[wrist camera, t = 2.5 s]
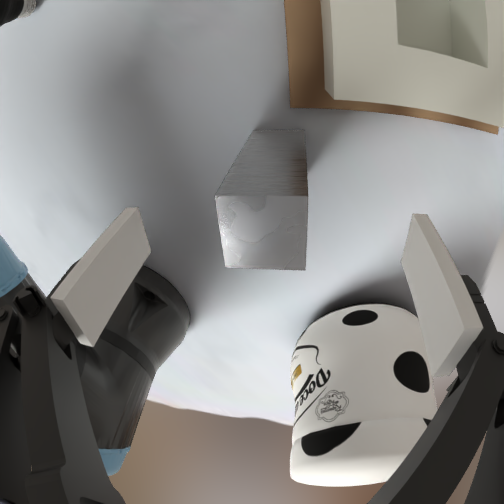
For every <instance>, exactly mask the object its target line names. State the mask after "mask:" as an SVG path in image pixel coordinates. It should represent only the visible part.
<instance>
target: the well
mask: <svg viewBox="0 0 504 504" xmlns="http://www.w3.org/2000/svg"><path fill="white" fill-rule="evenodd" d="M320 2H321V15H322V31H323V50H324V81H325V90H326V91H327V92H328V93H329V94H330V96H331V97H332V98H333V99H334V100H350V101H362V102H373V103H382V104H390V105H398V106H405V107H412V108H418V109H424V110H430V111H435V112H440V113H445V114H450V115H455V116H459V117H463V118H468V119H472V120H476V121H480V122H483V123H487V124H491V125H494V126H498V127H501V128H504V0H320Z"/></svg>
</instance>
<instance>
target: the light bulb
mask: <svg viewBox="0 0 504 504" xmlns="http://www.w3.org/2000/svg"><path fill="white" fill-rule="evenodd" d="M35 7H36V0H0V26H2V25H3V24H5V23H7V22H10V21H12V20H15V19H16V18H24V17H28V16H29V15H31V13H32V12H33V11H34V9H35Z"/></svg>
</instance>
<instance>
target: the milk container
mask: <svg viewBox="0 0 504 504" xmlns="http://www.w3.org/2000/svg"><path fill="white" fill-rule="evenodd" d="M290 379H291V385H292V389H293V394H294V398H295V420H294V427H293V435H292V444H293V446H292V450H291V455H290V475H291V478H292V479H293V480H295V481H296V482H300V483H305V484H309V485H318V486H356V485H367V484H374V483H380V482H385V481H388V479H389V478H390V477H391V476H392V474H393V473H394V472H395V471H396V470H397V468H398V467H399V466H400V464H401V463H402V462H403V461H404V459H405V458H406V457H407V455H408V454H409V453H410V451H411V450H412V448H413V447H414V446H415V444H416V443H417V441H418V440H419V438H420V437H421V436H422V434H423V433H424V431H425V430H426V428H427V426H428V425H429V423H430V422H431V420H432V419H433V417H434V415H435V414H436V412H437V410H438V408H437V404H436V399H435V394H434V387H433V377H432V375H431V370H430V365H429V360H428V356H427V351H426V347H425V343H424V339H423V334H422V331H421V327H420V323H419V319H418V318H417V317H416V316H415V315H413V314H412V313H410V312H409V311H407V310H406V309H404V308H402V307H399V306H395V305H390V304H385V303H366V304H356V305H351V306H348V307H344V308H341V309H337V310H335V311H332V312H330V313H328V314H326V315H324V316H322V317H321V318H319V319H317V320H316V321H314V322H313V323H312V324H310V325H309V326H308V328H307V329H306V330H305V331H304V332H303V333H302V335H301V336H300V338H299V339H298V341H297V343H296V346H295V349H294V352H293V356H292V360H291V367H290Z"/></svg>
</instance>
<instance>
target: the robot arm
mask: <svg viewBox="0 0 504 504" xmlns="http://www.w3.org/2000/svg"><path fill="white" fill-rule="evenodd" d="M150 253H151V248H150V245H149V242H148V238H147V235H146V232H145V228H144V225H143V222H142V218H141V215H140V211H139V207H133V208H125V210H124V211H123V212H122V213H121V214H120V215H119V216H118V217H117V218H116V219H115V220H114V221H113V222H112V224H111V225H110V226H109V227H108V228H107V229H106V230H105V231H104V232H103V233H102V235H101V236H100V237H99V238H98V239H97V240H96V241H95V243H94V244H93V245H92V246H91V247H90V248H89V250H88V251H87V252H86V253H85V254H84V255H83V257H82V258H81V259H79V260H78V261H77V262H75V263H74V264H73V265H72V266H71V267H70V268H69V270H68V271H67V272H66V274H64V276H63V277H62V278H61V280H60V281H59V282H58V283H57V285H56V286H55V287H54V288H53V290H52V291H51V292H50V294H49V295H48V296H47V297H46V296H45V294H44V293H43V292H42V291H41V289H40V288H39V287H38V285H37V284H36V283H35V281H34V280H33V279H32V277H31V276H30V275H29V273H28V269H27V267H26V265H25V264H24V263H23V262H21V261H20V260H19V259H18V258H17V256H16V255H15V254H14V252H13V251H12V250H11V248H10V247H9V245H8V244H7V243H6V241H5V240H4V239H3V237H2V236H0V504H126V503H125V501H124V500H123V498H122V496H121V495H120V494H119V492H118V491H117V490H116V489H115V488H114V487H113V485H112V484H111V482H110V480H109V477H108V476H109V475H113V474H115V473H117V472H118V471H119V469H120V468H121V466H122V463H123V461H124V458H125V456H126V454H127V452H129V450H130V447H131V443H132V440H133V437H134V433H135V431H136V428H137V424H138V422H139V419H140V416H141V413H142V410H143V407H144V404H145V401H146V398H147V396H148V393H149V390H150V387H151V384H152V381H153V379H154V376H155V374H156V371H157V370H158V368H159V367H160V366H161V365H162V364H163V363H164V362H165V361H166V359H167V358H168V357H169V356H170V355H171V354H172V353H173V351H174V350H175V349H176V348H177V347H178V346H179V345H180V344H181V342H182V341H183V339H184V337H185V335H186V332H187V329H188V326H189V323H190V314H189V310H188V307H187V305H186V303H185V301H184V299H183V298H182V296H181V295H180V294H179V292H178V291H177V290H176V289H175V288H174V287H173V286H172V285H171V284H170V283H169V282H168V281H167V280H165V279H164V278H163V277H161V276H160V275H159V274H157V273H156V272H154V271H152V270H150V269H149V268H147V267H144V266H142V265H143V264H144V262H145V260H146V259H147V257H148V256H149V254H150ZM401 264H402V267H403V270H404V273H405V276H406V279H407V282H408V285H409V288H410V291H411V295H412V298H413V301H414V305H415V308H416V312H417V315H418V319H419V323H420V327H421V331H422V334H423V339H424V343H425V347H426V351H427V356H428V360H429V365H430V370H431V375H432V377H442V376H449V375H450V374H451V373H452V372H453V370H454V369H455V368H457V372H458V377H457V378H456V379H455V380H454V381H453V383H452V384H451V385H450V386H449V387H448V388H447V391H448V393H447V395H446V397H445V399H444V400H443V402H442V404H441V405H440V407H439V409H438V410H437V412H436V414H435V415H434V417H433V419H432V420H431V422H430V423H429V425H428V426H427V428H426V430H425V431H424V433H423V434H422V436H421V437H420V438H419V440H418V441H417V443H416V444H415V446H414V447H413V448H412V450H411V451H410V453H409V454H408V455H407V457H406V458H405V459H404V461H403V462H402V463H401V464H400V466H399V467H398V468H397V470H396V471H395V472H394V473H393V474H392V476H391V477H390V478H389V479H388V481H387V482H386V483H385V484H384V485H383V486H382V488H381V489H380V490H379V491H378V492H377V493H376V494H375V496H374V497H373V498H372V499H371V500H370V501H369V502H368V503H367V504H446V502H447V501H448V499H449V498H450V496H451V494H452V493H453V492H454V490H455V488H456V487H457V485H458V483H459V482H460V480H461V478H462V477H463V475H464V473H465V472H466V470H467V468H468V467H469V465H470V463H471V461H472V459H473V457H474V456H475V453H476V452H477V449H478V448H479V446H480V444H481V442H482V440H483V438H484V435H485V433H486V431H487V433H486V437H485V441H484V445H483V449H482V453H481V456H480V460H479V463H478V466H477V470H476V473H475V476H474V479H473V482H472V485H471V487H470V490H469V493H468V496H467V498H466V501H465V503H464V504H504V334H503V333H501V332H497V330H496V327H495V325H494V322H493V320H492V318H491V315H490V313H489V311H488V309H487V306H486V304H484V300H483V298H482V296H481V293H480V291H479V289H478V287H477V285H476V284H475V282H474V281H473V280H472V279H471V278H470V277H469V276H468V275H460V274H459V271H458V269H457V267H456V266H455V264H454V262H453V260H452V258H451V256H450V254H449V252H448V250H447V248H446V247H445V245H444V243H443V241H442V239H441V238H440V236H439V234H438V232H437V231H436V229H435V227H434V225H433V224H432V222H431V220H430V219H429V217H428V215H425V214H412V219H411V223H410V228H409V232H408V236H407V240H406V244H405V248H404V252H403V255H402V259H401ZM31 466H32V472H31Z"/></svg>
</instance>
